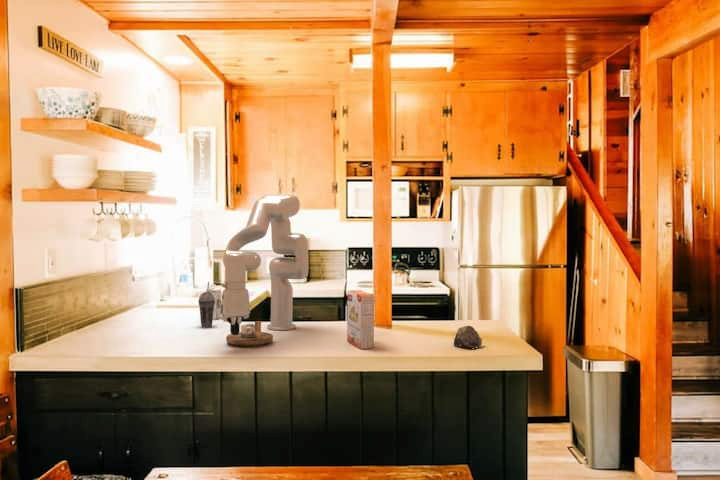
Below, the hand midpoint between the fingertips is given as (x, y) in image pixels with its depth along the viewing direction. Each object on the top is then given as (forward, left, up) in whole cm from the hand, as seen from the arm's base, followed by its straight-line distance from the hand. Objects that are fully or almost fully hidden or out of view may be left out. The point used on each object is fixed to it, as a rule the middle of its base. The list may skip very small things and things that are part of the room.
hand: (234, 334), depth 218 cm
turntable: (-7, +9, -4) cm, 12 cm away
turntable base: (-7, +9, -6) cm, 13 cm away
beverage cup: (-46, +5, -6) cm, 47 cm away
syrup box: (-63, +14, -6) cm, 65 cm away
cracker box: (+17, +45, -6) cm, 48 cm away
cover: (-7, +9, -3) cm, 11 cm away
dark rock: (+40, +81, -6) cm, 90 cm away
